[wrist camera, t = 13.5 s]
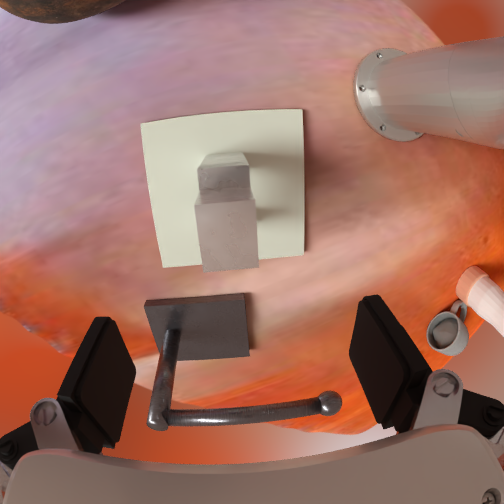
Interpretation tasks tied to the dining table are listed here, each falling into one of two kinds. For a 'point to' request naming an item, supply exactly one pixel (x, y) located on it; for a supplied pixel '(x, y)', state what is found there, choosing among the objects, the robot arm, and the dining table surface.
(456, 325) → the ceramic mug
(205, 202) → the stepped metal block
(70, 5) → the jug
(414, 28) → the dining table surface
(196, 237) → the mat
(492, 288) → the salt shaker
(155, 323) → the stand
